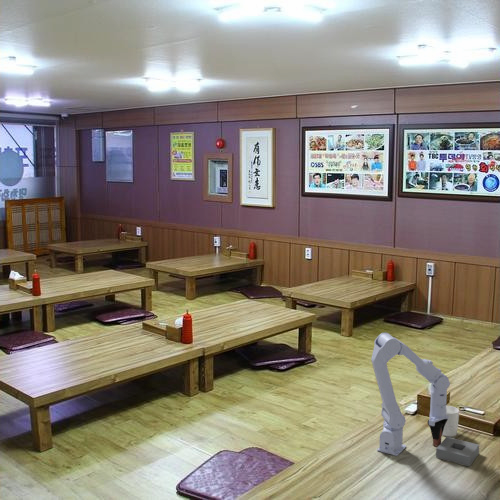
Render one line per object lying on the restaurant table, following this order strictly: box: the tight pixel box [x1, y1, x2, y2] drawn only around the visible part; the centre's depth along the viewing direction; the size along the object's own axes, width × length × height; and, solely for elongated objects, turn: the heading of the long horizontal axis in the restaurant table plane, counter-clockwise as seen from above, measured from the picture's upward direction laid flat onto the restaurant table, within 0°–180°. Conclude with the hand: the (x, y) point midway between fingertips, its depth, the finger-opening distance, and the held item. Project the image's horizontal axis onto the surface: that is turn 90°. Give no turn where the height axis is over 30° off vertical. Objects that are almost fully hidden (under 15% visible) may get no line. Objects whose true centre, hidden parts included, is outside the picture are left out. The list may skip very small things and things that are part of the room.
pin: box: [432, 428, 442, 447], centre depth 231 cm, size 3×3×8 cm
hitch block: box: [435, 436, 480, 467], centre depth 223 cm, size 12×12×4 cm
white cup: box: [442, 405, 460, 438], centre depth 241 cm, size 8×8×10 cm
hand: (437, 437), depth 231 cm, fingers closed on pin, 3 cm apart
